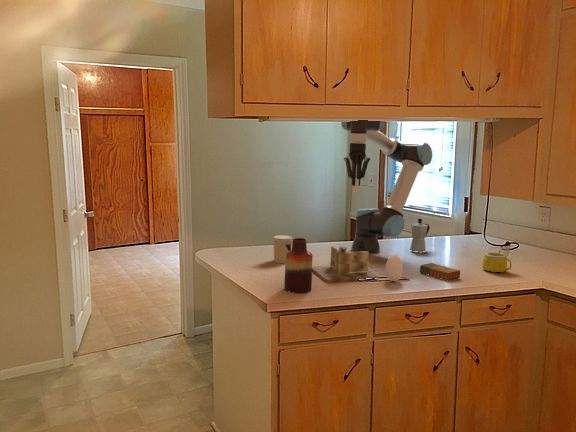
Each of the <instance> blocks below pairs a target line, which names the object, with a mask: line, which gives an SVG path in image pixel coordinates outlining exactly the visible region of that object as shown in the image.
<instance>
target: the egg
mask: <svg viewBox="0 0 576 432" xmlns="http://www.w3.org/2000/svg"><path fill="white" fill-rule="evenodd" d="M402 261H403V260H402V259H401V257H400V256H399V255H397V254H393V255H391V256H390V257H389V258H388V259H387V261H386V264H385V268H384V269H385V270H384V271H385V276H386V277H387V279H388V281H390V282H392V281H396V282H398V281H399V280H400V279H401V278H402V276H403V274H404V264H403V262H402Z"/></svg>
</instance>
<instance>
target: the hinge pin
mask: <svg viewBox="0 0 576 432" xmlns="http://www.w3.org/2000/svg"><path fill="white" fill-rule="evenodd" d="M338 250H341V251H340V252H345V250H347V247H345V246H339V249H338ZM347 251H348V250H347Z"/></svg>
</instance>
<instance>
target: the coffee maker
mask: <svg viewBox="0 0 576 432" xmlns="http://www.w3.org/2000/svg"><path fill="white" fill-rule="evenodd" d="M422 221H423V218H418V219H417V222H416V223H412V224H411V225H410V226H411V227H410V228H411V236H412V239H411V245H410V248H409V251H410V250H412V251H418V252H423V251H426V239H425V238H427V235H428V233H429V231H430V225H429V224H428V223H424V222H422Z"/></svg>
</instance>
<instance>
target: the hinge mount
mask: <svg viewBox="0 0 576 432" xmlns="http://www.w3.org/2000/svg"><path fill="white" fill-rule="evenodd" d="M330 247H331V248H330V266H319V267H312V273H313V274H315V275H317V276H318V278H320V279H322V280H323V281H324V282H326V283H343V282H346V283H347V282H356V281H355V280H359V279H366V278H379V277H380V276H379V275H376V273H373V272H371V271H370V270H369V255H370V254H369V251H362V252H354V251H349V250H345V252H340V251H341V250H339V249H338V248H336V247H334V246H330Z"/></svg>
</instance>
